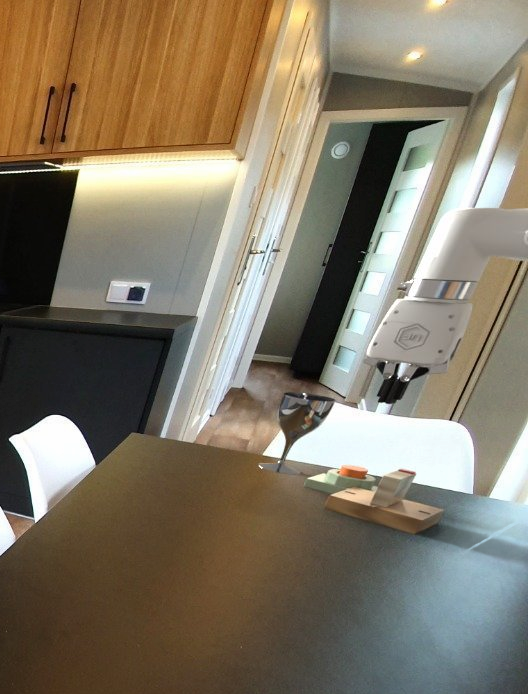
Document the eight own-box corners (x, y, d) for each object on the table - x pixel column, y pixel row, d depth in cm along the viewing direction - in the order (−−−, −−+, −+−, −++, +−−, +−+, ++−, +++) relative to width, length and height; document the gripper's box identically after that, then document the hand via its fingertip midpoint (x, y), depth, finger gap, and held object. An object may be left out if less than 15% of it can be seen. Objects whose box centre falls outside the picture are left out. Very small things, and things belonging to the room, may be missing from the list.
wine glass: (300, 467, 132) (331, 396, 126) (306, 477, 126) (339, 403, 120) (253, 460, 136) (281, 390, 130) (257, 469, 130) (286, 397, 124)
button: (367, 478, 117) (371, 469, 117) (359, 481, 116) (363, 472, 115) (343, 472, 120) (347, 463, 119) (334, 475, 118) (338, 466, 118)
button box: (385, 498, 117) (394, 480, 115) (369, 504, 114) (379, 486, 112) (319, 481, 125) (327, 464, 123) (303, 486, 122) (310, 469, 120)
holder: (386, 507, 105) (401, 478, 103) (369, 503, 107) (384, 473, 105) (402, 500, 109) (417, 472, 106) (385, 496, 110) (400, 468, 108)
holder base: (438, 522, 107) (446, 508, 106) (413, 535, 102) (421, 519, 101) (349, 498, 116) (355, 485, 115) (321, 508, 111) (328, 494, 110)
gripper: (371, 288, 108) (325, 395, 116) (497, 296, 97) (436, 414, 104) (389, 288, 112) (342, 392, 119) (512, 295, 100) (452, 410, 108)
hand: (386, 402), depth 112 cm, fingers closed
